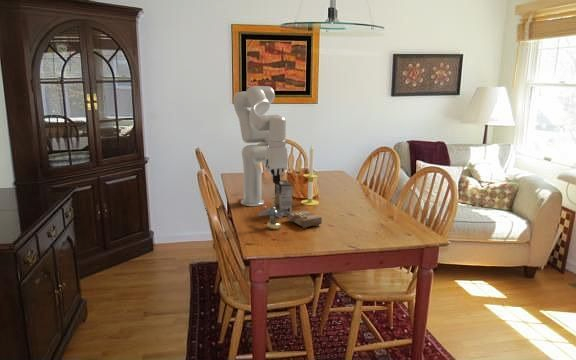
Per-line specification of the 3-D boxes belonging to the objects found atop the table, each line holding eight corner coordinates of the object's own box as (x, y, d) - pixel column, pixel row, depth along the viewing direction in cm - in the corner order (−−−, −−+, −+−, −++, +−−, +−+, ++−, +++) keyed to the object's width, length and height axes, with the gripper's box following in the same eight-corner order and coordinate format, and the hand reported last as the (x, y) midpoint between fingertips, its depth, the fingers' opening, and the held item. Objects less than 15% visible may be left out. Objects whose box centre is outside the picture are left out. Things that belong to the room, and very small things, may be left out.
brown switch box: (287, 220, 220) (287, 209, 219) (304, 217, 225) (304, 206, 224) (303, 229, 209) (304, 217, 207) (321, 226, 214) (321, 214, 213)
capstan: (249, 223, 214) (249, 204, 212) (276, 218, 222) (276, 200, 220) (266, 234, 201) (266, 214, 199) (295, 228, 209) (295, 209, 207)
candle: (309, 206, 244) (311, 146, 236) (297, 202, 252) (298, 143, 244) (322, 203, 250) (325, 144, 243) (310, 199, 258) (312, 141, 250)
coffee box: (273, 211, 235) (274, 180, 231) (285, 210, 237) (286, 179, 233) (279, 216, 226) (280, 184, 222) (292, 215, 228) (293, 184, 225)
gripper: (286, 141, 217) (285, 179, 221) (258, 144, 209) (258, 183, 213) (295, 144, 211) (294, 183, 215) (266, 146, 203) (266, 186, 207)
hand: (276, 183), depth 214 cm, fingers closed
